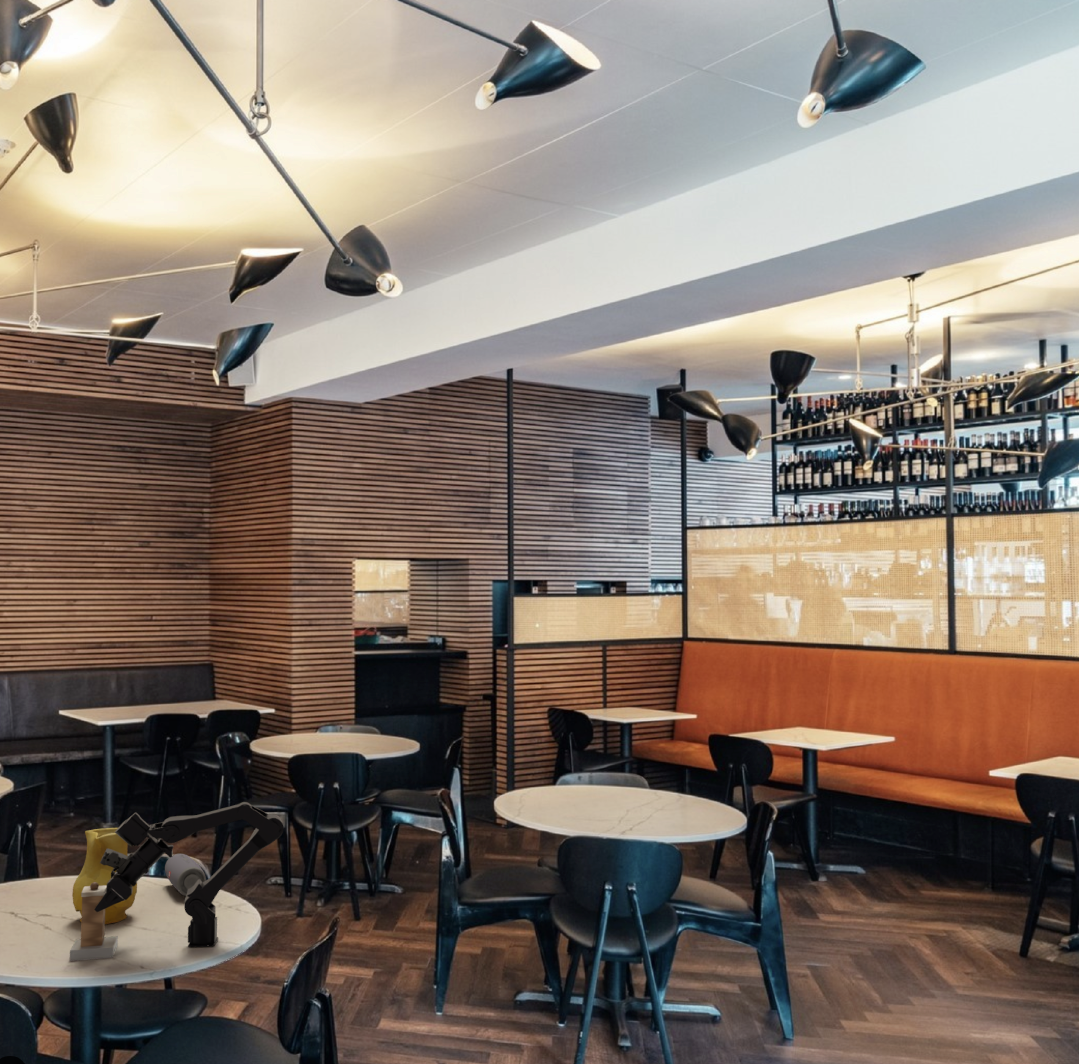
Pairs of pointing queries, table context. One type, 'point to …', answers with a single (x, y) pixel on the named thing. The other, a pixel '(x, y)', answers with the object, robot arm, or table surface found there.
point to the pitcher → (101, 871)
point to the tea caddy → (92, 916)
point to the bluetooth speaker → (183, 872)
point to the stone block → (94, 949)
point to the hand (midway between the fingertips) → (97, 906)
